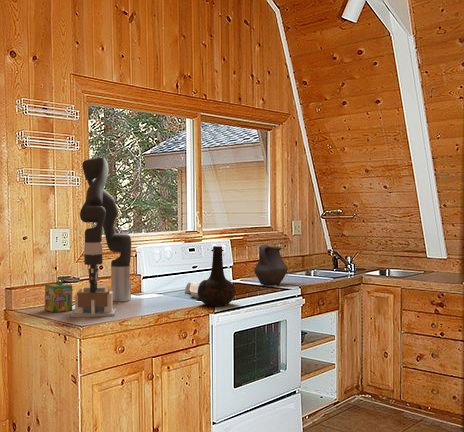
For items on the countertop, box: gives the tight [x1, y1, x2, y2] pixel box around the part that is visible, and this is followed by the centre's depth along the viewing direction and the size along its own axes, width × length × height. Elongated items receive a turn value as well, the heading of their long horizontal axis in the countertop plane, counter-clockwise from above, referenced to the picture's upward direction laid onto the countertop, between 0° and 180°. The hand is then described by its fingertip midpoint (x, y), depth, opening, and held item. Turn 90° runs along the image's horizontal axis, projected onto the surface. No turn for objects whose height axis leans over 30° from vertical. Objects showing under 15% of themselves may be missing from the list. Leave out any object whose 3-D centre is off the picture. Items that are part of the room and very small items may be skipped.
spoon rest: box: [184, 281, 200, 299], centre depth 298 cm, size 24×12×7 cm, turn 27°
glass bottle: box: [198, 245, 236, 307], centre depth 268 cm, size 18×18×28 cm
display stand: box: [70, 285, 117, 318], centre depth 244 cm, size 14×18×11 cm
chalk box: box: [44, 276, 73, 313], centre depth 253 cm, size 9×9×15 cm
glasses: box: [76, 287, 111, 307], centre depth 244 cm, size 14×13×6 cm
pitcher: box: [254, 244, 288, 286], centre depth 343 cm, size 21×22×25 cm
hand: (93, 291), depth 239 cm, fingers open, 8 cm apart
